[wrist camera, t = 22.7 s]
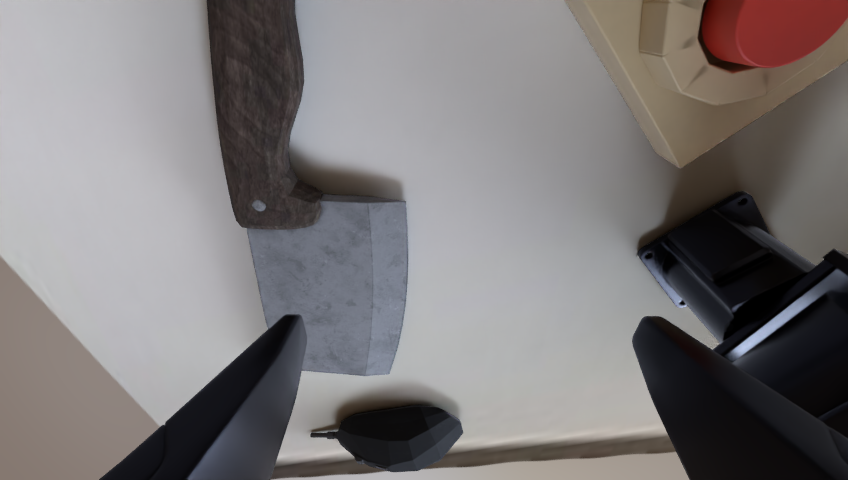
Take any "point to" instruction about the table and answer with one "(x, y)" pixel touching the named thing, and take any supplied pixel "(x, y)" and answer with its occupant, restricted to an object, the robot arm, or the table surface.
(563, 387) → the table surface
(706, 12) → the button
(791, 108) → the table surface
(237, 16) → the cleaver
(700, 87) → the panel
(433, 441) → the gaming mouse
